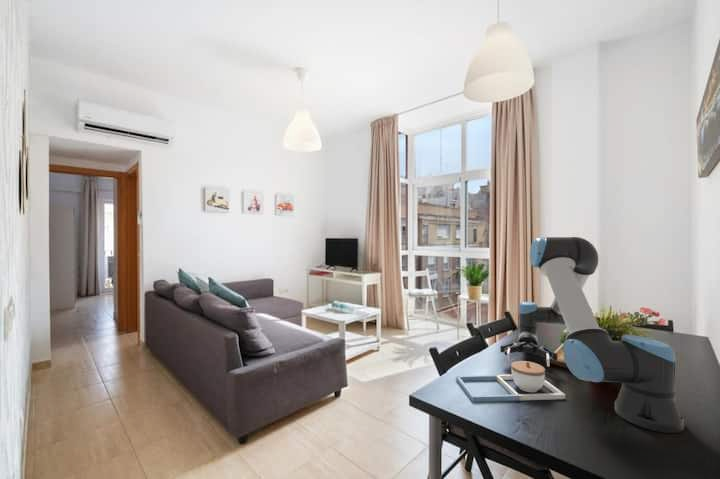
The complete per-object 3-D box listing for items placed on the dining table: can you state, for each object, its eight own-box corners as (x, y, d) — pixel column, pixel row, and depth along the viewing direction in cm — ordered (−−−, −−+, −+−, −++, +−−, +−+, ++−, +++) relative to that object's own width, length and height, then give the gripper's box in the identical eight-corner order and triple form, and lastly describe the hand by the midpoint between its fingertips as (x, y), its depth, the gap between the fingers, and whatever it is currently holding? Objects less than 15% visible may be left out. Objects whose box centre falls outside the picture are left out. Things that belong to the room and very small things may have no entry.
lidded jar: (540, 383, 117) (540, 357, 117) (549, 397, 107) (549, 369, 107) (508, 380, 120) (508, 355, 120) (514, 393, 110) (514, 366, 110)
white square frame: (565, 399, 106) (565, 394, 106) (517, 400, 105) (517, 395, 105) (536, 377, 122) (536, 373, 122) (495, 378, 121) (495, 374, 121)
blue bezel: (519, 400, 105) (519, 395, 105) (472, 401, 105) (472, 397, 105) (496, 378, 121) (496, 374, 121) (456, 379, 121) (456, 375, 121)
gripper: (561, 355, 135) (566, 375, 117) (497, 346, 147) (492, 363, 128) (561, 338, 135) (566, 355, 116) (497, 330, 147) (492, 344, 128)
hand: (527, 359), depth 122 cm, fingers open, 13 cm apart
